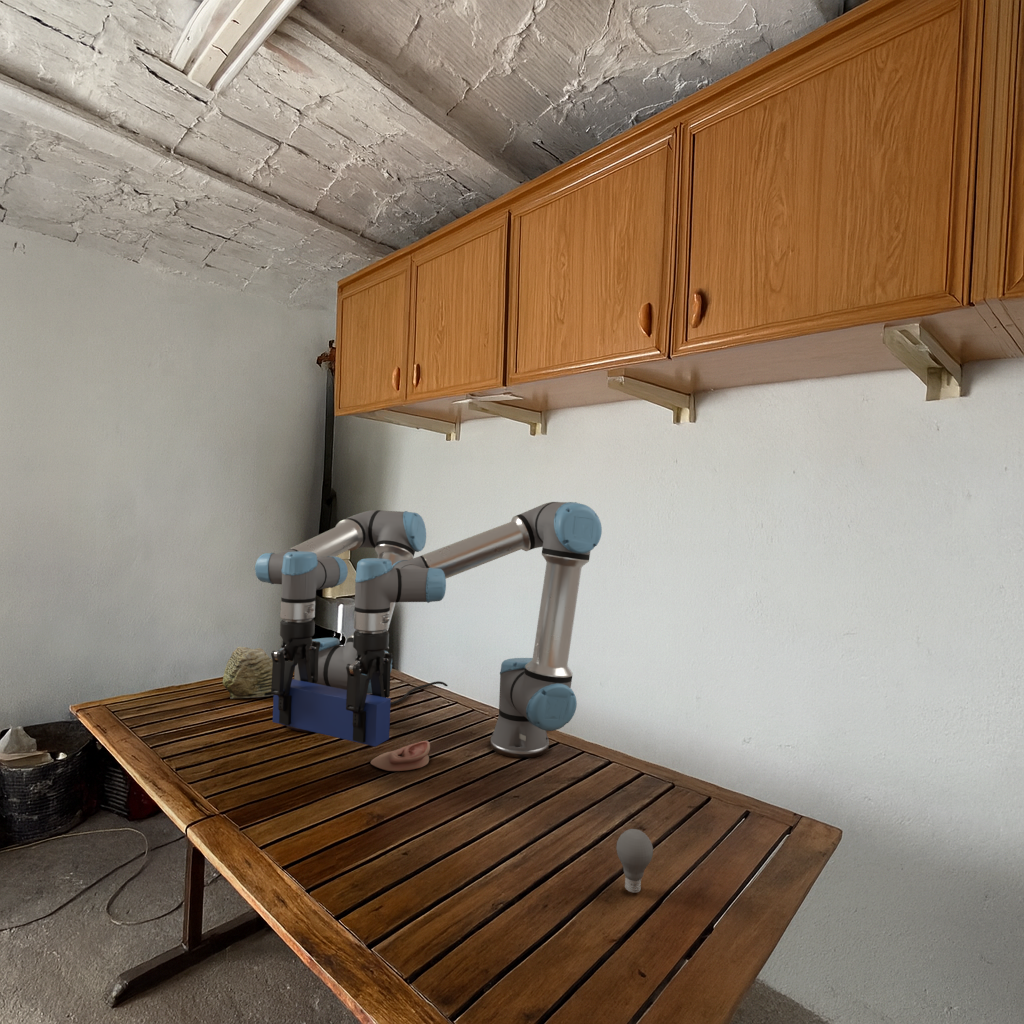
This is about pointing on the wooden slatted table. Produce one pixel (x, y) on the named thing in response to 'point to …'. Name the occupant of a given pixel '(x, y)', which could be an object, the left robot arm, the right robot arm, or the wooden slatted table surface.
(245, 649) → the fossil
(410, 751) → the anatomical model
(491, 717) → the wooden slatted table surface
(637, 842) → the light bulb
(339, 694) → the bar
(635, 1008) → the wooden slatted table surface
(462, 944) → the wooden slatted table surface
